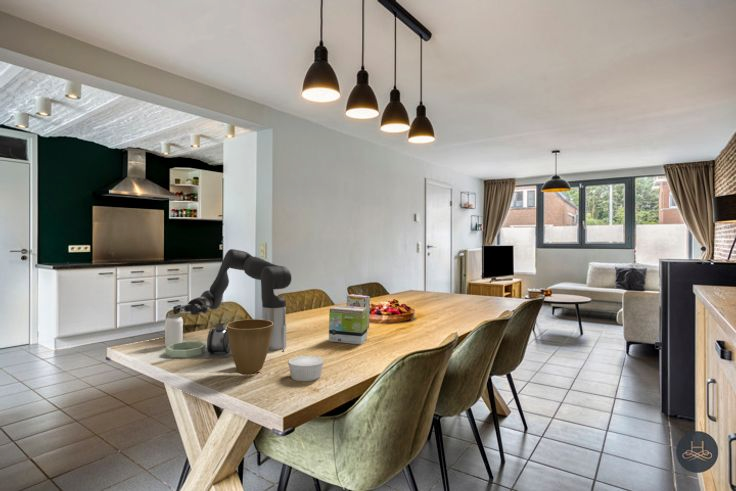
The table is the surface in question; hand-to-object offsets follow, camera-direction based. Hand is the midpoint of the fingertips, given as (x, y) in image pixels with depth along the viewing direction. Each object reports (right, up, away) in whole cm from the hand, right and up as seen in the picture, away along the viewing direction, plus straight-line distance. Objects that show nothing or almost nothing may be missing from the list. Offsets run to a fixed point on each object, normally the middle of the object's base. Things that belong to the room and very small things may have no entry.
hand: (185, 312), depth 173 cm
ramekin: (+60, -14, -45) cm, 76 cm away
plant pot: (+40, -13, -41) cm, 59 cm away
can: (+1, -12, -11) cm, 17 cm away
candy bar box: (+74, -13, +28) cm, 81 cm away
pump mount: (+16, -12, -23) cm, 31 cm away
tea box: (+71, -13, +2) cm, 72 cm away
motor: (+24, -11, -23) cm, 35 cm away
